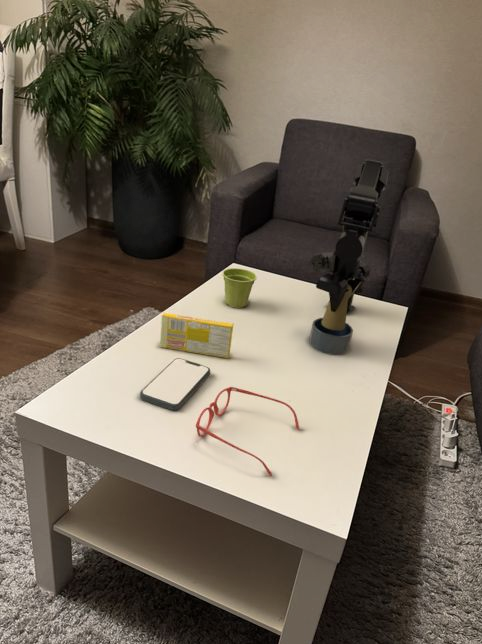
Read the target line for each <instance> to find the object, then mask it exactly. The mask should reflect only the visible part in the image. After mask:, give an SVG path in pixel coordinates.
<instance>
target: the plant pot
mask: <svg viewBox="0 0 482 644" xmlns="http://www.w3.org/2000/svg"><path fill="white" fill-rule="evenodd" d="M221 275H222V277H223V281H224V302H225V305H229V306H230V307H232V308H238V309H240V308H241V309H242V308H243V307H246V306H247V305H248V302H249V298H250V295H251V292H252V288H253V285H254V284H255V281H256V280H257V278H258V276H257V274H256V273H255V272H253V271H251V270H248V269H244V268H239V267H237V268H236V267H232V268H226V269H224V270H223V271H222V272H221Z"/></svg>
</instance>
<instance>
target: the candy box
mask: <svg viewBox="0 0 482 644" xmlns="http://www.w3.org/2000/svg"><path fill="white" fill-rule="evenodd" d="M160 322H161V323H160V340H159V348H165V349H170V350H175V351H182V352H188V353H195V354H200V355H206V356H211V357H218V358H224V359H229V358H230V355H231V347H232V339H233V331H234V323H230V322H224V321H219V320H218V321H217V320H212V319H206V318H198V317H193V316H186V315H180V314H175V313H169V312H163V313H162V314H161V321H160Z"/></svg>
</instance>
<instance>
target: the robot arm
mask: <svg viewBox="0 0 482 644" xmlns="http://www.w3.org/2000/svg"><path fill="white" fill-rule="evenodd" d="M389 174H390V171H389V170H388V169H387V168H386V167H385V163H383V162H382V161H379V160H373V159H368V158H367V159H363V162H362V163H360V164H357V165H356V169H355V173H354V177H353V185H355V186H353V187H351V188H350V191H349V193H348V195H346V194H345V195H344V199H343V203H342V206H341V211H340V214H339V218H338V222H337V226H342V230H341V233H340V235H339V238H338V240H337V241H336V243H335V248H334V249H335V250H333V251H331V252H319V253H318V252H317V253H313V255H312V256H311V257H310V261H309V265H310V266H311V267H312V270H313V271H318V270H328V272H327V273H325V274H324V275H322V276H321V277H319V278H317V279H316V284H315V288H316V289H318V290H321V291H324V292H327V293H328V297H329V300H330V307H331V311H332V312H335V311H336V310H337V309H338V307H339V306H340V304H341V303H342V301H343V300H344V298H345V296H346V295H347V293H348V292H349V289H347V285H350V286H351V288H352V294H351V296H350V298H348V303H347V313H346V315H348V314H349V313H351V312H352V311H353V310H354V309H355V308H356V306H354V305H352V304H353V301H354V298H355V297H354V296H355V295H358V296H359V294H362V293H363V289H364V286H365V282H366V278H367V277H369V276H370V272H371V267H370V265H369V263H366V262H363V261H362V260H363V259H364V258H365V256H366V253H365V252H364V248H365V245H366V241H367V237H368V233H369V232H373V229H374V228H377V225H378V220H379V216H380V213H381V209H382V208H381V203H380V201H378V199H380V198H381V195H382V192H383V191H385V190H386V187H387V183H388V179H389ZM331 273H332V274H331ZM327 306H328V304H327V305H326V307H327Z"/></svg>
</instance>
